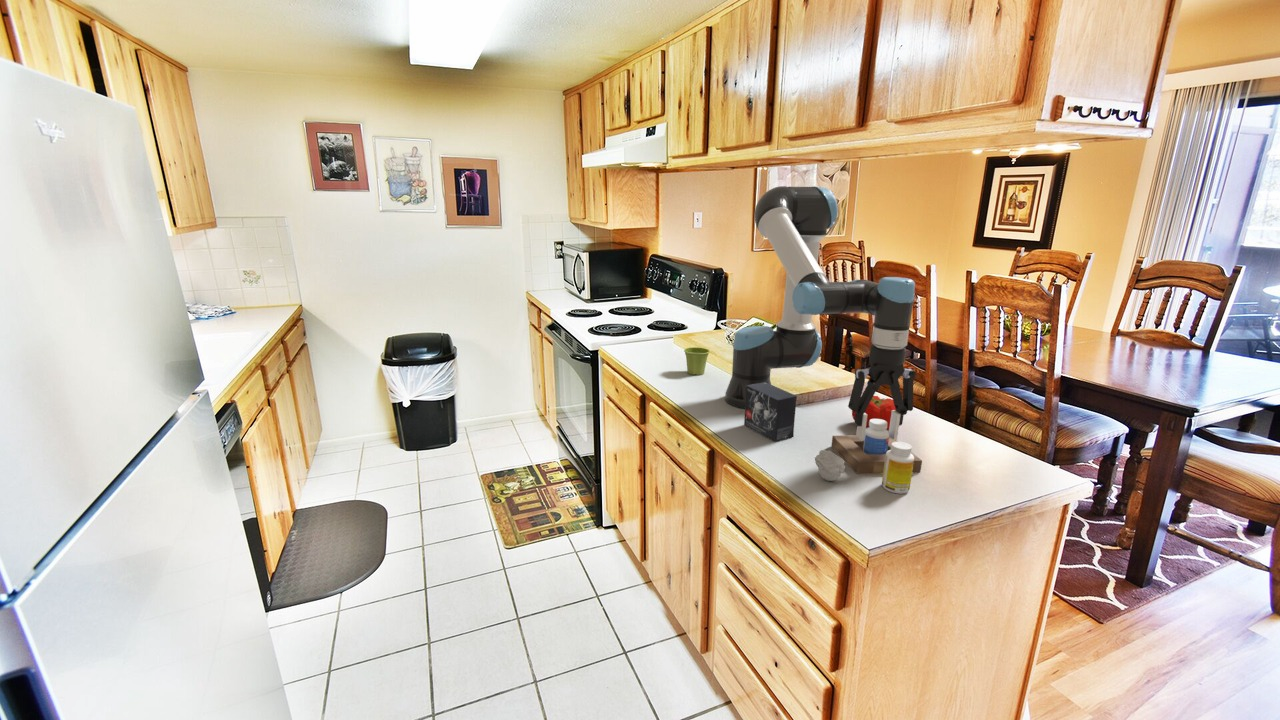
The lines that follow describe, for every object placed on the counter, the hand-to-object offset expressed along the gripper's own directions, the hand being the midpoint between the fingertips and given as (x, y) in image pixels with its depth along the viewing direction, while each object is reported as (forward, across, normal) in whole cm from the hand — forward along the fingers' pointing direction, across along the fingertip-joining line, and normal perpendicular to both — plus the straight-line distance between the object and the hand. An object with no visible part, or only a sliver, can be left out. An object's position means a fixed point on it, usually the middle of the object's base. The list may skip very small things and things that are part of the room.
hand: (876, 437), depth 132 cm
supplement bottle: (+6, -2, -14) cm, 16 cm away
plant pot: (+6, -32, +73) cm, 80 cm away
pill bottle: (+6, 0, 0) cm, 6 cm away
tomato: (+6, +10, +20) cm, 23 cm away
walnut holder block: (+6, 0, 0) cm, 6 cm away
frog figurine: (+6, -15, -10) cm, 19 cm away
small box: (+6, -21, +18) cm, 28 cm away
